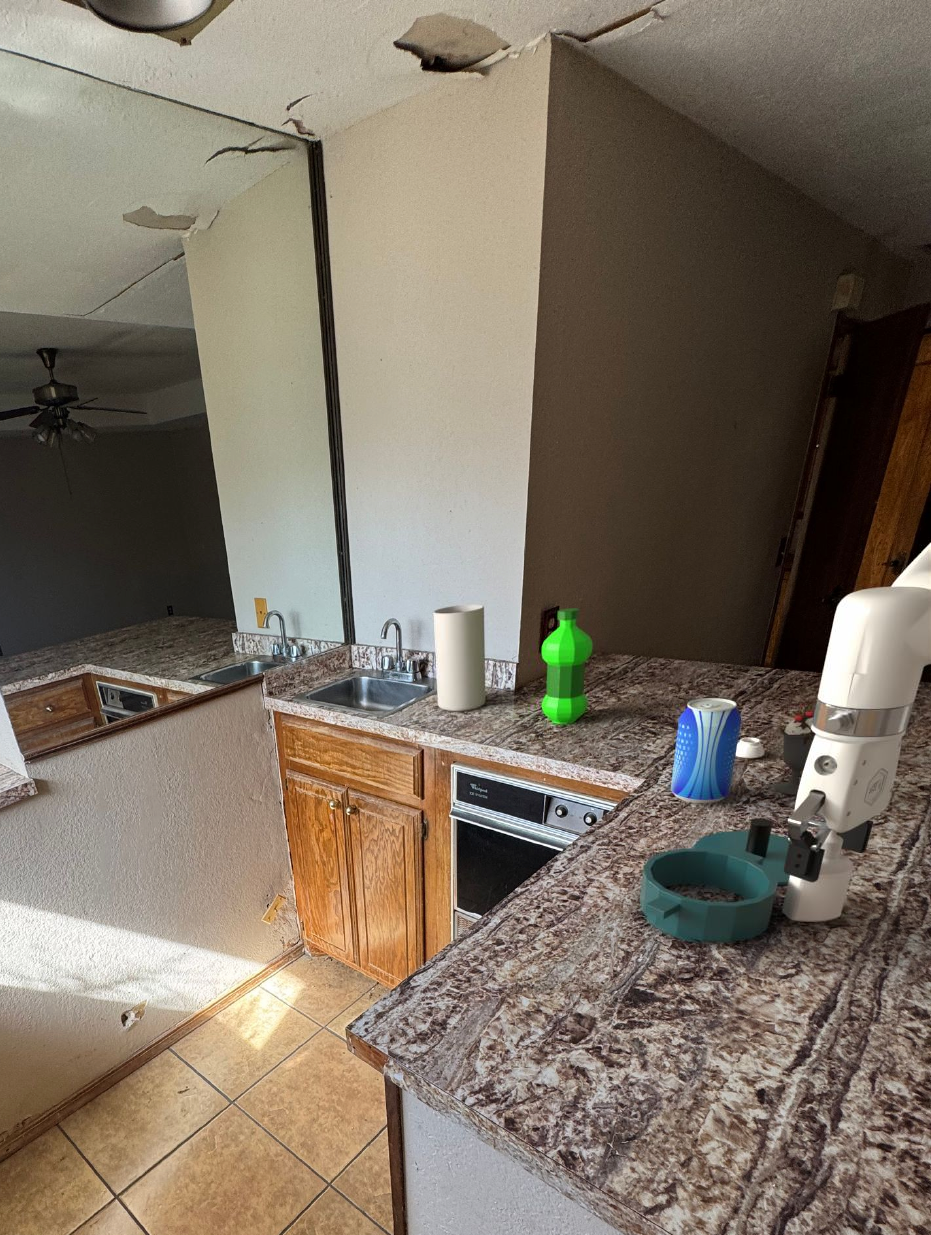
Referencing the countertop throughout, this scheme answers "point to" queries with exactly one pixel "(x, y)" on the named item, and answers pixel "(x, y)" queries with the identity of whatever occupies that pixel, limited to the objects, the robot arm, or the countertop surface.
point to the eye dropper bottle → (821, 887)
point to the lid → (753, 846)
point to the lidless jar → (749, 748)
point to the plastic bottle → (566, 669)
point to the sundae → (796, 749)
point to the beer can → (705, 750)
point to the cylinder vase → (460, 657)
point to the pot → (702, 916)
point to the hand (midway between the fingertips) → (824, 862)
